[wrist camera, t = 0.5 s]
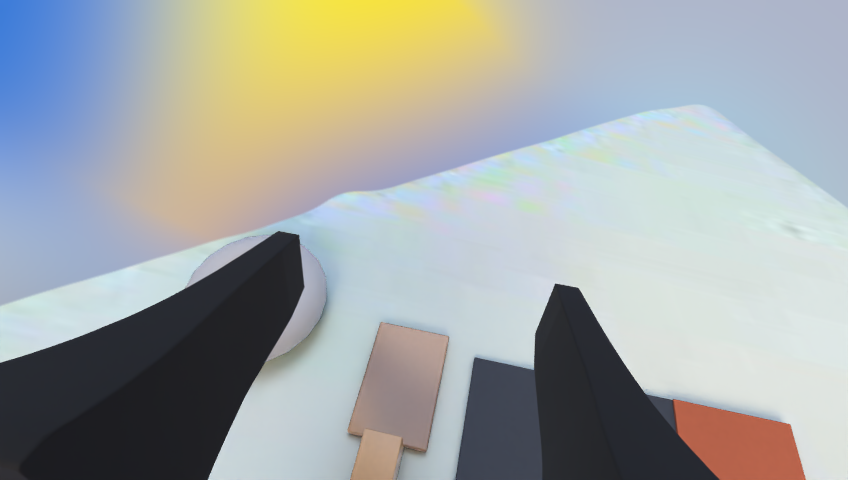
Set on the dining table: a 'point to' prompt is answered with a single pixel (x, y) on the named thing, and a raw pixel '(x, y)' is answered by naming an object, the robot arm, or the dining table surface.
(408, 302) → the dining table surface
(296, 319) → the donut
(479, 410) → the corner mat
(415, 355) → the spatula
